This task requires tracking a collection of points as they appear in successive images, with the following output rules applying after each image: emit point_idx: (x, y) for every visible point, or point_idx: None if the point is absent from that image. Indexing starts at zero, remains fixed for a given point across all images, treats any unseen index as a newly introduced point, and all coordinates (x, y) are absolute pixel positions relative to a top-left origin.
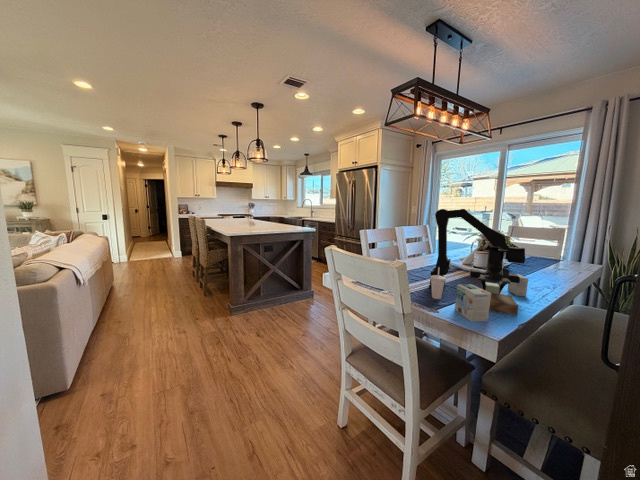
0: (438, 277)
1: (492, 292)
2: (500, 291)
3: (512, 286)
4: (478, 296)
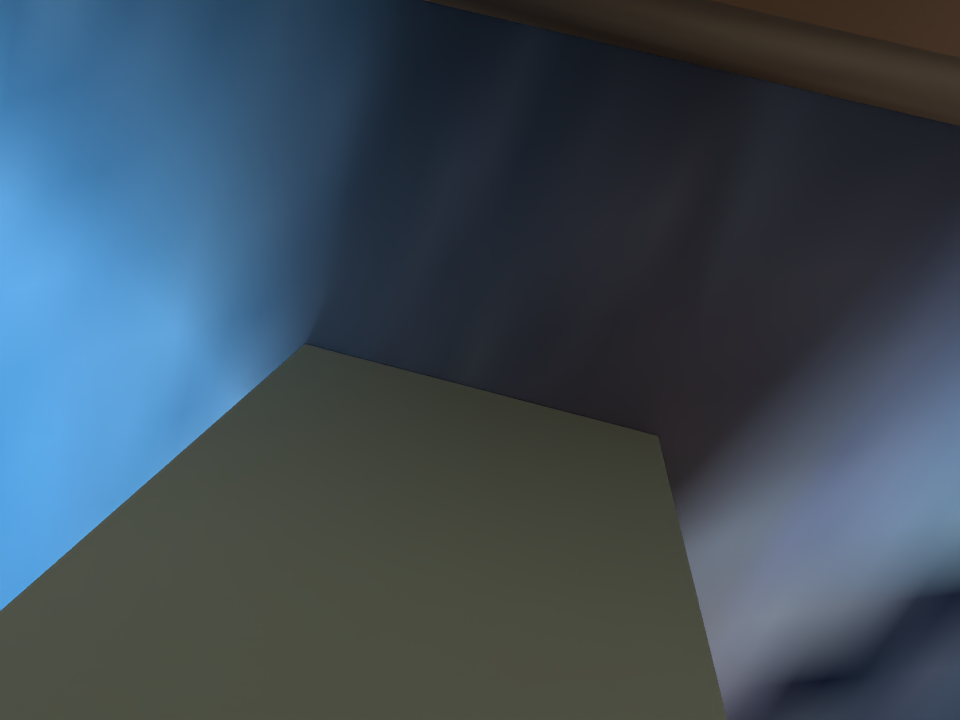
0: None
1: (434, 512)
2: None
3: None
4: None
